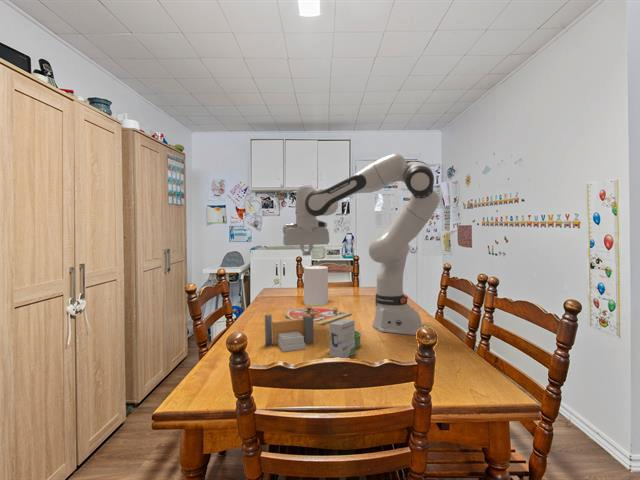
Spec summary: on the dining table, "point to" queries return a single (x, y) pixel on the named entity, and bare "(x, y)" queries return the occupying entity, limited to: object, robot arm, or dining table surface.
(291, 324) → the tan wooden panel
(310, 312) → the knob puzzle
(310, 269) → the canister
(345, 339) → the ink box
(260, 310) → the dining table surface
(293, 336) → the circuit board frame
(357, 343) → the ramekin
